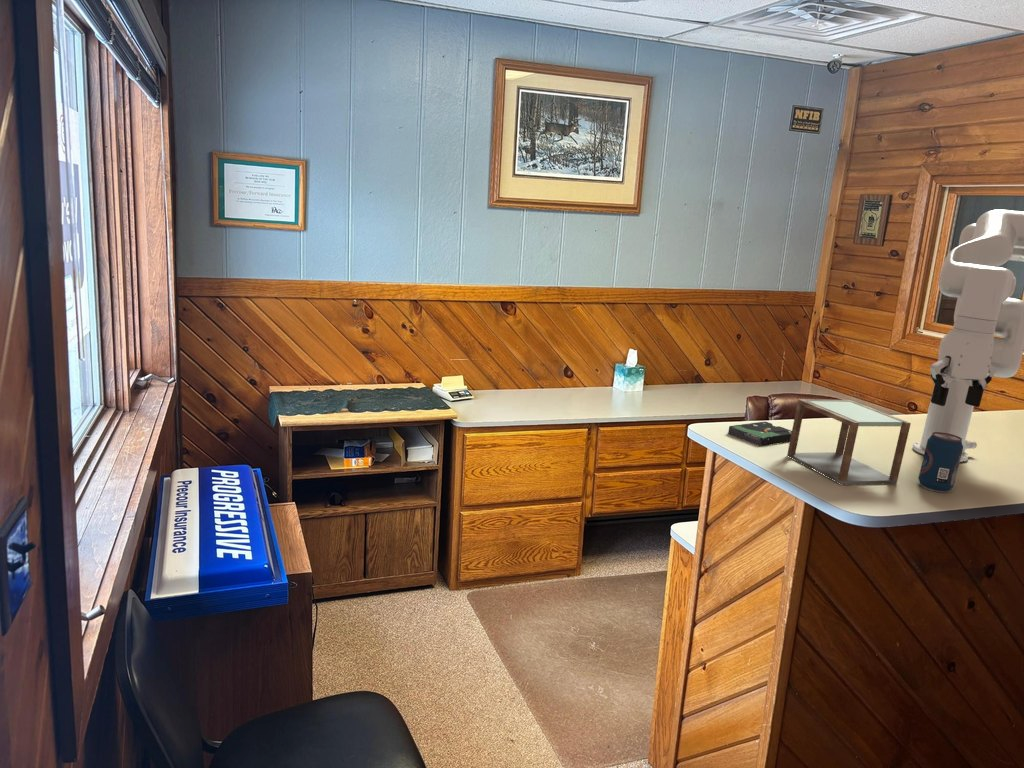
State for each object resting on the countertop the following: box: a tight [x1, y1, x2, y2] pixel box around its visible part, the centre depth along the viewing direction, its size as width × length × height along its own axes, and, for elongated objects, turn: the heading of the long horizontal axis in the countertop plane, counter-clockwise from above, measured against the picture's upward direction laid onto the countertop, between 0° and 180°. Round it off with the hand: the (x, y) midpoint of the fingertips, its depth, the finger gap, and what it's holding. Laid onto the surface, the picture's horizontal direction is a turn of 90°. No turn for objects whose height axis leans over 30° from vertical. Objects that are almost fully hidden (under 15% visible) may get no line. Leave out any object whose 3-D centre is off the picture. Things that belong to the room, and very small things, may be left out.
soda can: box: [918, 432, 963, 493], centre depth 166 cm, size 7×7×12 cm
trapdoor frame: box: [786, 398, 912, 485], centre depth 172 cm, size 18×15×14 cm
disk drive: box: [727, 421, 792, 447], centre depth 193 cm, size 10×3×15 cm
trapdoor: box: [808, 401, 902, 427], centre depth 170 cm, size 16×12×1 cm
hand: (954, 404), depth 163 cm, fingers open, 9 cm apart
